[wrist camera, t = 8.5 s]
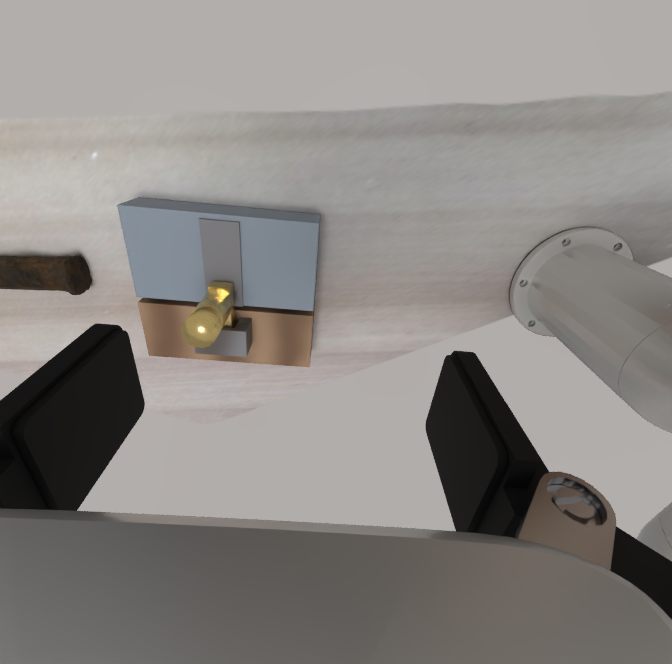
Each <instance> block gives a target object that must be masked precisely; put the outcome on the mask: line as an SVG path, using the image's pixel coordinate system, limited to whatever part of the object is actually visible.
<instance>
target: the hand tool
mask: <svg viewBox="0 0 672 664" xmlns="http://www.w3.org/2000/svg"><path fill="white" fill-rule="evenodd" d="M91 282H92V279H91V276H90V271H89V268H88V266H87V263H86V262H85V260H84V259H83V258H82V257H81V256H74V257H57V258H56V259H55V258H41V257H23V258H17V257H0V289H23V290H59V291H67V292H69V293H70V294H72V295H80V294H82V293H84V292H85V291H86V290H89V288H90V284H91Z"/></svg>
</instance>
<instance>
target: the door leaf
mask: <svg viewBox="0 0 672 664" xmlns="http://www.w3.org/2000/svg"><path fill="white" fill-rule="evenodd" d="M117 207H118V211H119V216H120V221H121V225H122V230H123V235H124V240H125V244H126V249H127V254H128V259H129V263H130V268H131V273H132V277H133V282H134V287H135V292H136V296H137V297H143V298H155V299H167V300H180V301H192V302H200V301H201V300H202V299H203V297H204V296H205V295H206V294H207V292H208V286H209V284H210V283H211V282H212V281H217V282H229V283H233V294H234V306H238V307H243V306H255V307H267V308H279V309H292V310H304V311H313V308H314V300H315V288H316V273H317V258H318V243H319V229H320V214H312V213H301V212H290V211H280V210H269V209H258V208H248V207H237V206H226V205H216V204H205V203H194V202H184V201H173V200H162V199H152V198H141V197H138V198H135V199H133V200H130V201H127V202H124V203H121V204H118V205H117Z"/></svg>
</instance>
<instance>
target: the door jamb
mask: <svg viewBox="0 0 672 664" xmlns="http://www.w3.org/2000/svg"><path fill="white" fill-rule="evenodd" d="M199 303H200V302H192V301H180V300H167V299H155V298H142V299H141V300H140V301H139V302H138V306H139V311H140V315H141V320H142V325H143V329H144V334H145V339H146V344H147V348H148V353H149V356H162V357H176V358H190V359H204V360H217V361H231V362H245V363H259V364H272V365H286V366H300V367H310V357H311V348H312V333H313V318H314V308H313V311H304V310H292V309H279V308H267V307H255V306H243V307H238V306H234V311H235V328H228V327H222V329H221V331H220V333H219V335H218V336H217V338H216V340H215V342H214V343H213V344H212V345H211V346H209V347H205V348H199V347H195V346H192V345H190V344H189V343H188V342H186V340H185V339H184V338H183V336H182V333H181V327H182V325H183V323H184V322H185V321H186V319H187V318H188V317H189V315H190V314H191V313H192V312H193V310H194V309H195V308H196V306H197V305H198V304H199ZM314 303H315V300H314Z"/></svg>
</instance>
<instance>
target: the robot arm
mask: <svg viewBox="0 0 672 664" xmlns="http://www.w3.org/2000/svg"><path fill="white" fill-rule="evenodd" d="M510 305H511V309H512V311H513V313H514V315H515V317H516V318H517V319H518V321H519V322H520V323H521V324H522V325H523V326H524V327H525V328H526V329H528V330H530V331H532V332H534V333H536V334H540V335H543V336H553V337H555V336H556V337H557V338H558V339H559V340H560V341H561V342H562V343H563V344H564V345H565V346H566V347H567V348H568V349H570V351H572V352H573V353H574V354H575V355H576V356H577V357H578V358H579V359H580V360H581V361H582V362H583V363H584V364H585V365H586V366H587V367H589V368H590V369H591V370H592V371H593V372H594V373H595V374H596V375H597V376H598V377H599V378H600V379H601V380H602V381H603V382H604V383H605V384H606V385H608V386H609V387H610V388H611V389H612V390H613V391H614V392H615V393H616V394H617V395H618V396H619V397H620V398H622V399H623V400H624V401H625V402H626V403H627V404H628V405H629V406H630V407H631V408H632V409H633V410H635V412H637V413H638V414H639V415H640V416H641V417H643V418H644V419H645V420H647V421H649V422H650V423H652V424H653V425H655V426H657V427H659V428H661V429H663V430H666V431H668V432H671V433H672V278H670V277H668V276H665V275H664V274H661V273H659V272H657V271H655V270H652V269H650V268H648V267H646V266H643V265H641V264H639V263H637V262H634V259H633V255H632V252H631V250H630V248H629V246H628V245H627V243H626V242H625V241H624V240H623V239H621V238H620V237H619V236H618V235H615V234H613V233H611V232H609V231H606V230H603V229H600V228H591V227H585V228H575V229H572V230H568V231H564V232H562V233H560V234H557V235H555V236H553V237H551V238H549V239H548V240H546V241H545V242H543V243H542V244H540V245H539V246H538V247H537V248H535V249H534V250H533V251H532V252H531V253H530V254H529V255H528V256H527V257H526V259H525V260H524V261H523V262H522V264H521V265H520V267H519V268H518V270H517V271H516V274H515V276H514V278H513V281H512V284H511V289H510ZM144 404H145V403H144V398H143V394H142V390H141V385H140V381H139V377H138V373H137V369H136V364H135V360H134V356H133V352H132V348H131V344H130V339H129V335H128V333H127V332H126V331H123V330H122V328H121V327H120V326H118V325H110V324H94V325H93V326H91V327H90V328H89V329H88V330H87V331H85V332H84V333H83V334H82V335H80V336H79V337H78V338H77V339H75V340H74V341H73V342H72V343H71V344H69V345H68V346H67V347H66V348H64V349H63V350H62V351H61V352H59V353H58V354H57V355H56V356H55V357H53V358H52V359H51V360H50V361H48V362H47V363H46V364H45V365H43V366H42V367H41V368H40V369H39V370H37V371H36V372H35V373H34V374H32V375H31V376H30V377H29V378H28V379H26V380H25V381H24V382H23V383H21V384H20V385H19V386H18V387H17V388H15V389H14V390H13V391H12V392H10V393H9V394H8V395H7V396H5V397H4V398H3V399H2V400H0V664H672V503H670V504H669V505H668V506H667V507H666V508H664V509H663V510H662V511H661V512H660V513H658V514H657V515H656V516H655V517H654V518H653V519H652V520H651V521H650V522H648V523H647V524H646V525H645V526H644V528H643V529H642V530H641V532H640V533H639V535H638V537H637V539H635V538H634V537H632V536H630V535H629V534H627V533H626V532H624V531H622V530H621V529H619V528H618V527H616V517H615V513H614V511H613V509H612V507H611V505H610V503H609V502H608V501H607V500H606V498H605V497H604V496H603V495H602V494H601V493H600V492H599V491H598V490H596V489H595V488H594V487H593V486H592V485H590V484H588V483H587V482H585V481H584V480H582V479H580V478H578V477H575V476H573V475H571V474H567V473H563V472H549V471H548V469H547V468H546V466H545V465H544V463H543V461H542V460H541V458H540V456H539V455H538V453H537V452H536V450H535V448H534V447H533V445H532V444H531V442H530V440H529V439H528V437H527V436H526V434H525V432H524V431H523V429H522V428H521V426H520V424H519V423H518V421H517V419H516V418H515V417H514V415H513V413H512V411H511V410H510V408H509V407H508V405H507V404H506V402H505V401H504V399H503V397H502V396H501V395H500V393H499V391H498V389H497V388H496V386H495V385H494V383H493V382H492V380H491V378H490V377H489V375H488V373H487V372H486V370H485V369H484V367H483V366H482V364H481V362H480V361H479V359H478V357H477V356H476V354H475V353H473V352H463V351H454V352H453V353H452V354H451V355H447V356H446V357H445V360H444V363H443V366H442V370H441V373H440V377H439V380H438V383H437V386H436V390H435V393H434V397H433V400H432V403H431V407H430V410H429V413H428V417H427V420H426V433H427V436H428V440H429V443H430V446H431V450H432V453H433V456H434V459H435V463H436V466H437V469H438V472H439V476H440V479H441V483H442V486H443V489H444V493H445V496H446V499H447V503H448V506H449V509H450V513H451V516H452V519H453V523H454V526H455V529H456V531H442V530H429V529H415V528H398V527H381V526H363V525H346V524H329V523H311V522H292V521H273V520H254V519H253V520H252V519H234V518H214V517H195V516H175V515H152V514H131V513H110V512H108V513H107V512H88V511H87V512H86V511H77V509H78V508H79V507H80V505H81V504H82V502H83V501H84V499H85V498H86V496H87V495H88V493H89V492H90V490H91V489H92V487H93V486H94V484H95V483H96V481H97V480H98V478H99V477H100V475H101V474H102V473H103V471H104V470H105V468H106V466H107V465H108V464H109V462H110V460H111V459H112V458H113V456H114V455H115V453H116V452H117V450H118V449H119V447H120V446H121V444H122V443H123V441H124V440H125V438H126V437H127V436H128V434H129V433H130V431H131V429H132V428H133V427H134V425H135V424H136V422H137V421H138V419H139V418H140V416H141V415H142V413H143V410H144Z"/></svg>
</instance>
